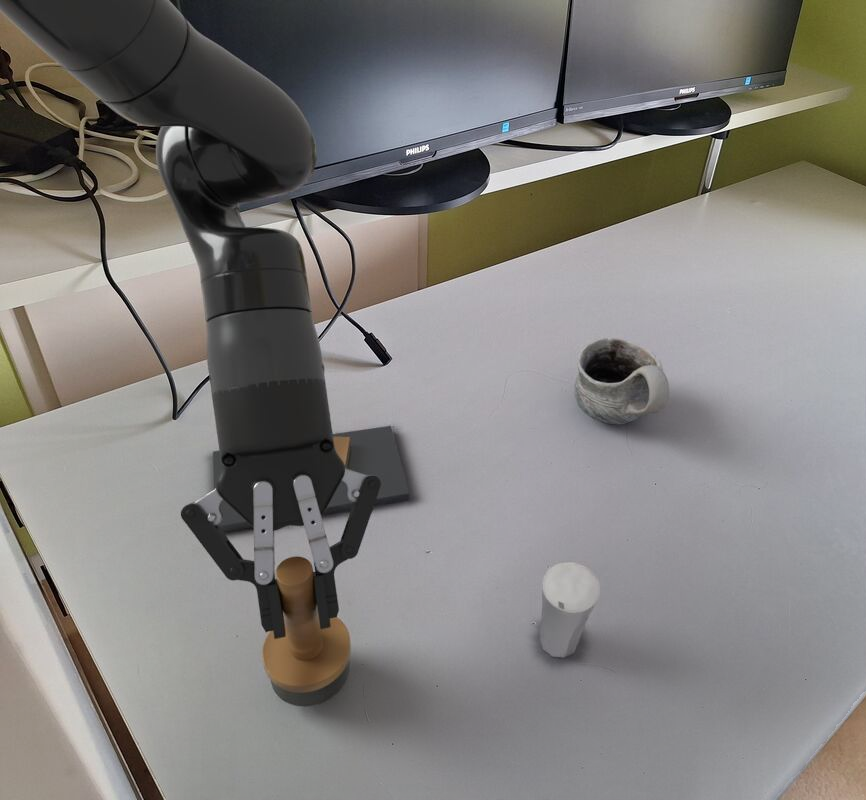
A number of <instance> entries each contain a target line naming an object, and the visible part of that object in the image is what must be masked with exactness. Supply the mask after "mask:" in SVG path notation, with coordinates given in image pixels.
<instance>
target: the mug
mask: <svg viewBox="0 0 866 800" xmlns="http://www.w3.org/2000/svg"><path fill="white" fill-rule="evenodd" d="M576 365H577V369H578V372H577V375H576V378H575V383H574V395H575V400H576V402H577V405H578V407H579V408H580V410H581V411H582V412H583V413H585V414H586V415H587V416H589V417H590V418H592V419H594V420H597V421H598V422H599V421H600V422H602V423H604V424H609V425H625V424H628V423H630V422H633V421H636V420H639V419H640V418H641V417H643V416H647V415H652V414H656V413H658V412H660V411H662V410H663V409H664V408H665V406H666V405H667V403H668V400H669V397H670V385H669V380H668V377H667V376H666V374H665V372H664V368H663V364H662V362H661V360H660V359H658V358H657V356H656V355H655V353H654V352H652V351H651V350H649V349H647V348H646V347H644V346H642V345H640V344H638V343H637V342H634V341H629V340H627V339H623V338H620V337H611V336H610V337H607V338H606V337H604V338H598V339H595V340H593V341H591V342H589V343H587V344H586V345H584V347H583V349H582V350H581V351H580V353H579V355H578V357H577V363H576Z"/></svg>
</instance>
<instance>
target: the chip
mask: <svg viewBox="0 0 866 800" xmlns="http://www.w3.org/2000/svg"><path fill="white" fill-rule="evenodd" d="M333 440H334V446H335V450H336V452H337V454H338V456H339V457H340V458H341V459H342V461H343V463H344V465H345V468H346V469H347V464H348V458H349V453H350V447H351V441H350V437H333Z"/></svg>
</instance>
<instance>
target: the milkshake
mask: <svg viewBox="0 0 866 800" xmlns="http://www.w3.org/2000/svg"><path fill="white" fill-rule="evenodd" d="M541 585H542V596H541V597H542V599H541V601H542V602H541V616H540V617H541V618H540V633H539V640H540V643H541V646H542V650H543V651H544V652H546V653H547V654H548V655H550V656H551V657H553V658H561V659H565V658H566V657H569V656H571V655H572V654H574V653H575V652H576V649H577V646H578V644H579V642H580V639H581V637H582V633H583V631H584V629H585V626H586V624H587V622H588V620H589V618H590V616H591V614H592V612H593V610H594V608H595V606H596V603H597V601H598V598H599V596H600V591H601V588H600V587H601V585H600V581H599V579H598V578H597V576H596V575H595V574H594V573H593V571H592V570H591V569H590V568H589V567H587V566H584V565H582V564H579V563H577V562H572V561H571V562H569V561H567V562H560V563H555V564H554V565H552V566H551V567H550V568H549V569H548V570H547V571H546V573H545V574H544V576H543V579H542V584H541Z"/></svg>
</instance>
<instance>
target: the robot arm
mask: <svg viewBox="0 0 866 800" xmlns="http://www.w3.org/2000/svg"><path fill="white" fill-rule="evenodd" d="M0 13H1V14H2V15H3V16H4V17H5V18H6V19H7V20H9V21H10V22H11V23H12V24H13V25H14V26H15V27H16V28H17V29H18V30H19V31H21V32H22V33H23V35H25V36H26V37H27V38H28V39H29V40H30V41H31V42H33V43H34V44H35V45H36V46H37V47H38V48H39V49H41V50H42V52H44V53H45V54H46V55H47V56H48V57H50V58H51V59H52V60H53V61H54V62H55V63H56V64H58V65H59V66H60V67H61V68H62V69H63V70H65V71H66V72H67V73H68V74H70V76H72V77H73V78H74V79H75V80H76V81H78V83H80V84H81V85H82V86H83V87H85V88H86V89H87V90H88V91H89V92H90V93H92V94H93V95H94V96H95V97H97V99H99V100H100V101H101V102H102V103H103V104H104V105H105V106H106V107H108V108H109V109H111V110H112V111H113V112H115V114H117V115H119V116H120V117H122V118H123V119H125V120H127V121H128V122H130V123H133V124H136V125H139V126H142V127H154V128H155V127H156V128H160V129H159V131H158V134H157V139H156V143H155V162H156V165H157V170H158V173H159V177H160V178H161V182H162V184H163V186H164V188H165V191H166V193H167V196H168V197H169V200H170V202H171V204H172V206H173V208H174V210H175V213H176V215H177V218H178V220H179V222H180V225H181V227H182V230H183V232H184V234H185V237H186V239H187V242H188V245H189V247H190V249H191V251H192V254H193V256H194V258H195V261H196V264H197V267H198V271H199V280H200V287H201V295H202V302H203V303H202V304H203V311H204V319H205V323H206V324H205V326H206V362H207V369H208V376H209V377H208V378H209V384H210V391H211V400H212V407H213V414H214V421H215V427H216V428H215V429H216V434H217V443H218V451H220V458H221V469H220V473H219V475H218V478H217V480H216V489H214V488H213V490H211V491H209V493H207V494H205V495H203V497H201V498H199V499H197V500H196V501H194V502H190V503H189V504H186V505H184V506H183V507H182V509H180V518H181V519H182V521H183V522H184V523H185V525H187V527H188V529H189V530H190V531H191V533H192V534H193V535H194V537H195V538H196V539H197V540H198V541H199V543H200V544H201V546H202V547H203V548H204V550H205V551H206V552H207V554H208V555H209V556H210V557H211V559H212V561H213V562H214V563H215V564H216V566H217V567H218V568H219V569H220V571H221V573H222V574H223V575H224V576H225V578H226V579H228V580H229V581H242V582H249V583H251V584H252V585H253V586H254V587H255V589H256V593H257V594H256V595H257V602H258V608H259V616H260V624H261V627H262V628H263V630H264V632H265V633H267V632H268V633H269V632H270V631H273V632H274V638H275V639H278V638H283V637H285V635H286V631H285V622H284V615H283V609H282V603H281V598H280V593H279V588H278V583H277V579H276V569H275V568H276V567H275V566H276V565H275V531H276V532H277V531H279V530H280V529H283V528H285V527H288V526H294V527H304V529H305V534H306V537H307V540H308V544H309V548H310V552H311V555H312V559H313V567H314V571H313V574H314V576H313V579H314V586H315V593H316V600H317V608H318V615H319V622H320V629H325V628H329V627H331V625H330V618H335V617H338V614H339V610H340V607H339V600H338V593H337V587H336V586H337V585H336V579H335V571H336V568H338V566H339V565H340V564H342V563H344V562H345V561H348V560H350V559H351V560H353V559H354V558H356V556H357V555H358V554H359V551H360V548H361V545H362V542H363V539H364V536H365V533H366V530H367V527H368V524H369V521H370V518H371V516H372V513H373V509H374V507H375V506H374V504H375V501H376V498H377V495H378V492H379V489H380V486H381V482H380V479H379V478H378V477H377V476H375V475H365V474H361V473H358V472H355V471H352V470H349V469H346V468H345V465H344V463H343V461H342V459H341V458H340V457H339V456H338V454H337V452H336V450H335V446H334V440H333V434H334V433H333V428H332V427H333V426H332V421H331V420H332V419H331V412H330V405H329V400H328V391H327V384H326V377H325V365H324V362H323V355H322V349H321V344H320V343H321V342H320V339H319V337H318V335H319V334H318V332H317V329H316V326H315V322H314V316H313V313H312V311H313V310H312V303H311V296H310V289H309V282H308V275H307V268H306V262H305V255H304V251H303V248H302V245H301V243H300V242H299V240H298V239H297V238H296V237H295V236H294V235H292V234H291V233H289V232H287V231H285V230H282V229H278V228H269V227H260V226H258V227H257V226H254V227H253V226H246V225H245V223H244V221H243V219H242V216H241V212H240V206H241V205H244V204H248V203H253V202H258V201H261V200H265V199H266V200H267V199H270V198H273V197H278V196H281V195H282V196H283V195H286V194H288V193H289V194H290V193H292V192H294V191H296V190H298V189H300V188H301V187H303V186H304V185H305V184H307V182H308V181H309V180H310V178H311V177H312V175H313V173H314V171H315V168H316V163H317V144H316V140H315V135H314V133H313V130H312V128H311V126H310V123H309V121H308V120H307V118H306V116H305V115H304V113H303V112H302V110H301V109H300V107H299V106H298V105H297V104H296V102H295V101H294V99H292V98H291V97H290V96H289V95H288V94H287V93H286V92H285V91H284V90H283V89H282V88H281V87H279V86H278V85H277V84H276V83H275V82H273V81H272V80H270V79H269V78H267V76H265V75H263V74H262V73H260V71H258V70H256V69H254V67H252V66H250V65H248V64H247V63H246V62H245V61H243V60H241V59H240V58H239V57H237V56H235V55H234V54H232V53H231V52H230V51H228V50H227V49H225V48H224V47H222V46H221V45H219V44H218V43H216V42H215V41H213V40H212V39H209V38H208V37H206V36H205V35H203V34H202V33H201V32H199V31H198V30H196V28H194V27H193V25H192V24H191V23H190V21H188V19H187V18H186V17H185V16H184V15H183V14H182V13H181V11H180V10H179V9H178V8H177V7H176V6H175V5H174V3H172V2H171V1H170V0H0ZM341 481H343V482H344V483H345V484H346V486H347V491H346V495H347V498H348V499H349V500H350V501H352V502H354V503H353V506H352V508H351V510H349V511H350V512H349V515H348V517H347V520H346V523H345V526H344V528H343V532H342V535H341V537H340V540H339V541H338V542H336V543H335V544H333V545H331V546H330V544H329V540H328V537H327V534H326V530H325V526H324V521H323V519H322V517H323V516H324V515H323V514H324V512H325V510H326V508H327V507H328V505H329V503H330V501H331V499H332V497H333V495H334V494H335V492H336V490H337V488H338V486H339V484H340V482H341ZM223 500H224V501H225V502H227V503H228V504H229V505H230V506H231V507H232V508H233V509H234V510H235V511H236V512H237V513H238V514H239V515H240V516H241V517H242V518H243V519H244V520H245V521H246V522H247V523H248V524H249V525H251V526H252V527H251V528H253V552H254V553H253V555H254V560H252V559H244V558H243V557H242V555H241V553H239V551H238V549H236V547H235V546H234V544H233V543H232V541H231V540H230V539H229V538H228V537H227V535H226V534H225V532H223V531H222V530H221V529H220V527H219V526H218V524H219V523H220V522H221V521H222V519H223V513H222V511H221V508H220V506H221V503H222V501H223Z"/></svg>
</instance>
